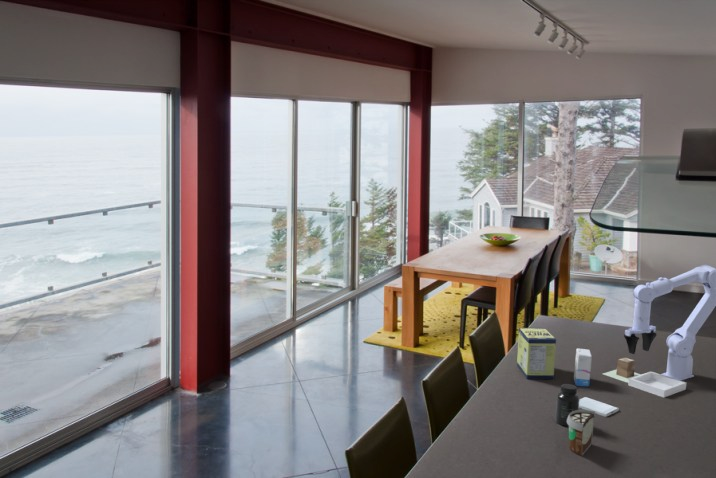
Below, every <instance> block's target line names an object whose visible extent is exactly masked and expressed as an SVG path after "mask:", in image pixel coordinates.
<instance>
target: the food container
mask: <svg viewBox="0 0 716 478" xmlns="http://www.w3.org/2000/svg"><path fill="white" fill-rule="evenodd" d="M595 418H596V413H595V411H590V410H585V409H579V410H576V411H572V412H571V413H570V414H569V415H568V418H567V424H568V425H569V426H568V448H569V450H570V451H571V452H572V453H574V454H576V455H578V456H584V454H585V453H586V451H588V449H589V448H590V447H591V445H592V443H593V435H594V434H593V433H594V425H595V423H594V422H595Z"/></svg>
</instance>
